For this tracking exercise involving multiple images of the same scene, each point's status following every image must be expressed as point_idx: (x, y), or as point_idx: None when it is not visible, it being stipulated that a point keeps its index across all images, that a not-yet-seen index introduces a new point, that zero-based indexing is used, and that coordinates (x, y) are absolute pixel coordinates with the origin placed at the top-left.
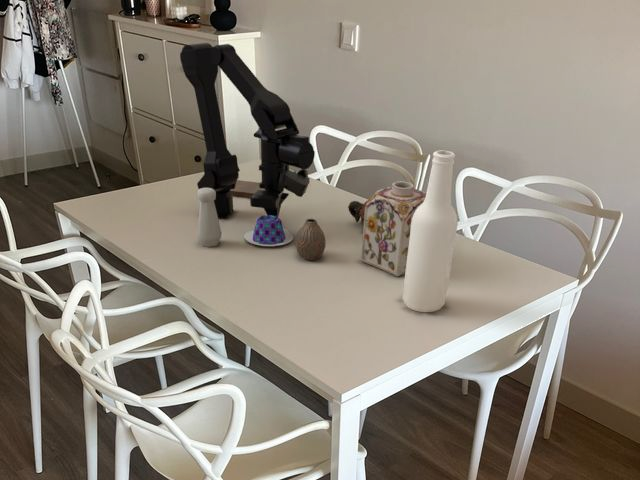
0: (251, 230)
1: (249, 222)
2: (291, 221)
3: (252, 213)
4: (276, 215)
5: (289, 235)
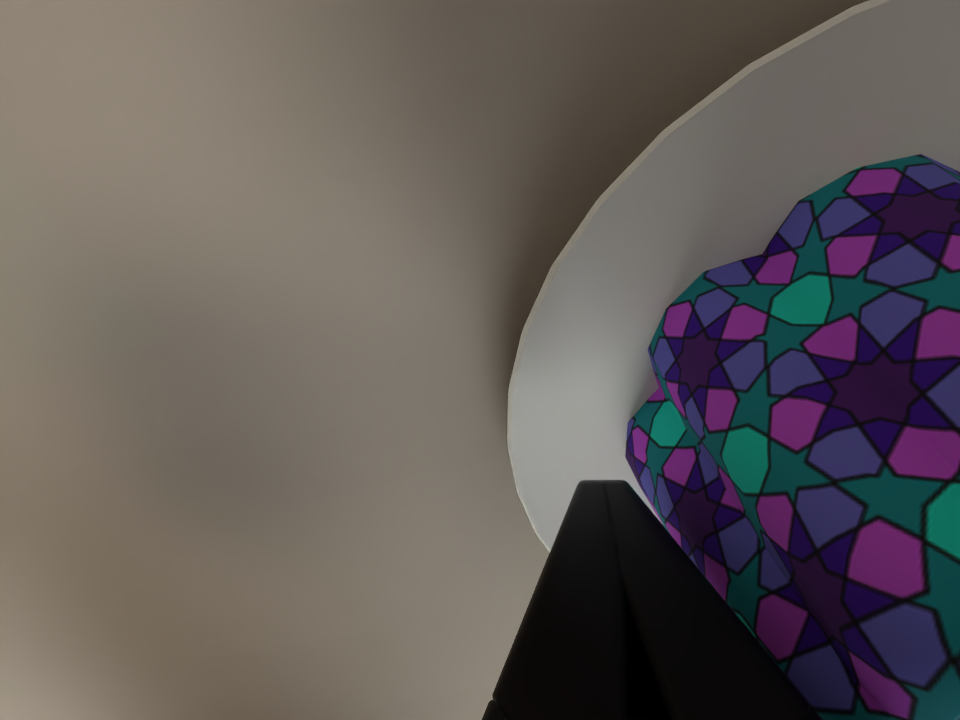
0: None
1: (376, 675)
2: (34, 325)
3: (152, 693)
4: (773, 664)
5: (761, 125)
